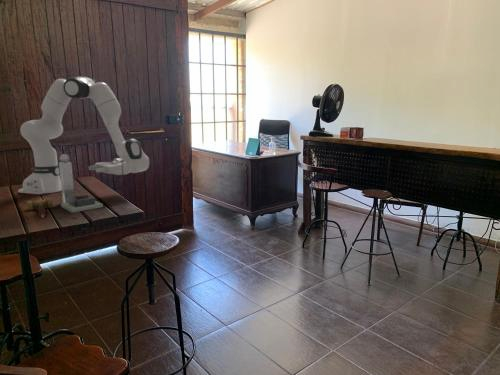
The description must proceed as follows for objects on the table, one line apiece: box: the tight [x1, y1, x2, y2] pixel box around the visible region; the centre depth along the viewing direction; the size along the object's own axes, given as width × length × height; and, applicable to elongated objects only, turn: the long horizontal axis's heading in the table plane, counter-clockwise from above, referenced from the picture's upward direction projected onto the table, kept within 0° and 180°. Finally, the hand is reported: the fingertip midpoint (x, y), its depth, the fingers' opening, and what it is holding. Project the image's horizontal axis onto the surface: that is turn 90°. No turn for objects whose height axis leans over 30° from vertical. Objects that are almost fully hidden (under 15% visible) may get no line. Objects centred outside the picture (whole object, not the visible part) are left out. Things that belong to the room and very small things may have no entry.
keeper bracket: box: [60, 192, 104, 214], centre depth 180 cm, size 14×14×7 cm
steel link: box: [58, 153, 75, 203], centre depth 185 cm, size 4×4×24 cm
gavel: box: [26, 197, 54, 219], centre depth 170 cm, size 21×5×10 cm
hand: (92, 169), depth 192 cm, fingers open, 8 cm apart
